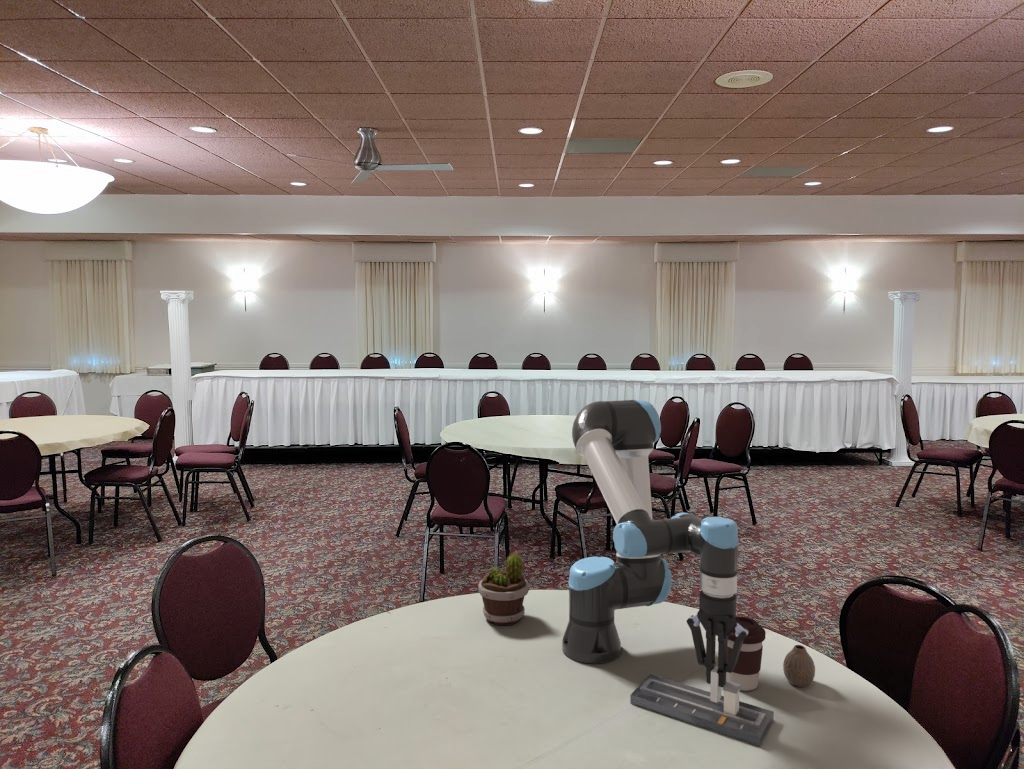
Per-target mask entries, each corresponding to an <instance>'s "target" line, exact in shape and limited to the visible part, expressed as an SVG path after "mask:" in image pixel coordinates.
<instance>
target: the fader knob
mask: <svg viewBox="0 0 1024 769" xmlns="http://www.w3.org/2000/svg"><path fill="white" fill-rule="evenodd" d="M740 688H741V685H740V684H737V683H734V682H730V681H727V682H726V684H725V685H724V687H722V691H723V696H724V713H727V714H731V715H734V716H736V714H737V712H738V711H739V701H740V691H741V690H740Z"/></svg>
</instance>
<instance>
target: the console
mask: <svg viewBox="0 0 1024 769" xmlns="http://www.w3.org/2000/svg"><path fill="white" fill-rule="evenodd" d="M710 692H711V691H708V690H704V689H700V688H697V687H694V686H691V685H687V684H686V683H685V684H684V683H681V682H678V681H675V680H672V679H668V678H664V677H663V676H662V677H661V676H658V675H655V674H651V673H649V675H648V676H646V678H644V679H643V681H642V682H641V683H640V684H639V685H638V686H637V687H636V688H635V690H633V691H632V692H631V694H630V696H629V697H630V704H631V705H634V706H638V707H640V708H643V709H646V710H650V711H652V712H654V713H658V714H661V715H664V716H667V717H670V718H673V719H676V720H679V721H681V722H682V721H683V722H685V723H688V724H691V725H693V726H697V727H699V728H703V729H707V730H709V731H712V732H714V733H718V734H720V735H722V736H723V735H724V736H727V737H729V738H733V739H736V740H737V741H741V742H744V743H747V744H750V745H753V746H757V747H761V745H762V744H763V742H764V740H765V738H766V736H767V734H768V732H769V730H770V728H771V727H772V725H773V722H774V719H775V718H774V716H775V712H774V711H773V710H770V709H767V708H763V707H760V706H757V705H753V704H750V703H747V702H744V701H740V700H739V711H738V712H737V714H736V716H734V715H731V714H727V713H724V695H721V698H720V700H719V701H718V702H717V703H716V702H712V701H710Z"/></svg>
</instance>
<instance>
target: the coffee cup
mask: <svg viewBox="0 0 1024 769" xmlns="http://www.w3.org/2000/svg"><path fill="white" fill-rule="evenodd" d="M736 616H737V619H738V624H739V625H741V626H742V627H743V628H747V629H748V630H749V633H748V635H747V636H746V637H745V638H744V640H743V644H742V647H741V650H740V654H739V657H738V660H737V664H736V667H735V669H734V670H733V671H732V672H731V673H728V672H726V682H727V681H730V682H734V683H737V684H740V685H741V688H740V690H739V691H741V692H742V691H744V692H749V691H753V690H755V689H757V687H758V686H759V680H760V679H759V678H760V671H761V667H762V659H763V658H762V657H763V650H764V649H763V648H764V647H763V642H764V641H765V640H766V630H765V629H764V627H763V626H761V625H760V624H759V623H758V621H756V620H755V619H753V618H751V617H748V616H740V615H736ZM735 632H736V630H735V628H734V630H733V631H732V632H731V633H730V634H729V635H728V647H727V664H728V662H729V659H730V655H731V652H732V649H733V645H734V642H735V639H736V638H737V637H736V635H735Z"/></svg>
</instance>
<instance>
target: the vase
mask: <svg viewBox="0 0 1024 769" xmlns="http://www.w3.org/2000/svg"><path fill="white" fill-rule="evenodd" d="M782 665H783V666H782V667H783V669H782V670H783V674H784V676H785V678H786V680H787V682H789V683H790V685H793V686H795V687H799V688H805V687H808V686H810V685H811V684H812V683H813V681H814V679H815V676H816V666H815V662H814V660H813V658H812V657H811V655H810V654H809V653H808V651H807V648H806V646H805V645H802V644H795V645H794V646H793V647H792V649H791V650H790V651H788V653H787V654H786V655H785V657H784V660H783V663H782Z"/></svg>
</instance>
